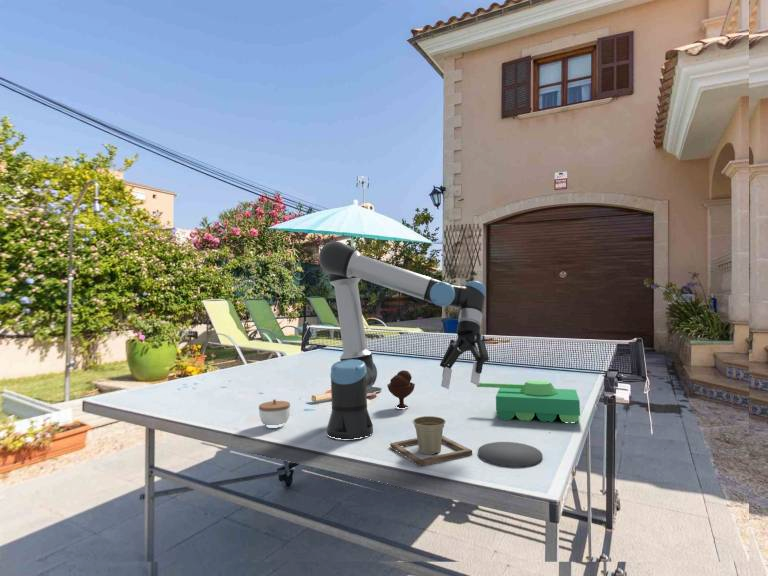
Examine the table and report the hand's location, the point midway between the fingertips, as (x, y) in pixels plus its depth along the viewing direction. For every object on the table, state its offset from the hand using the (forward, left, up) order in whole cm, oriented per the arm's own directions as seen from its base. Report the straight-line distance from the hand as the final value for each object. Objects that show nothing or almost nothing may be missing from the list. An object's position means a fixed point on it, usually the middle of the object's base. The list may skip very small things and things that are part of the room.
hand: (459, 385), depth 135 cm
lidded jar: (-44, -48, -16) cm, 68 cm away
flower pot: (+5, -14, -16) cm, 22 cm away
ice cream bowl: (-42, +2, -16) cm, 45 cm away
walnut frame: (+5, -14, -16) cm, 22 cm away
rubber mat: (+19, +3, -16) cm, 25 cm away
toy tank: (-9, +36, -17) cm, 40 cm away
